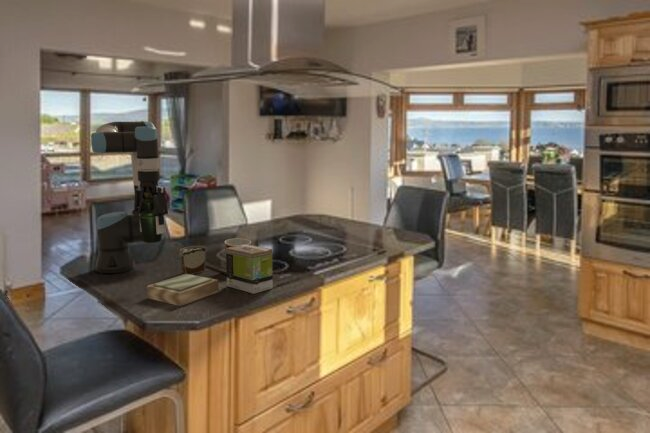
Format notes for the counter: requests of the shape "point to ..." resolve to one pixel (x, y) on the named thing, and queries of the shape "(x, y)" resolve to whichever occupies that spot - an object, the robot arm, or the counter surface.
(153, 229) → the potion bottle
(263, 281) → the tea box
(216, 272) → the counter surface
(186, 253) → the food container
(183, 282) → the pedestal base
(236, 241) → the plastic cup
